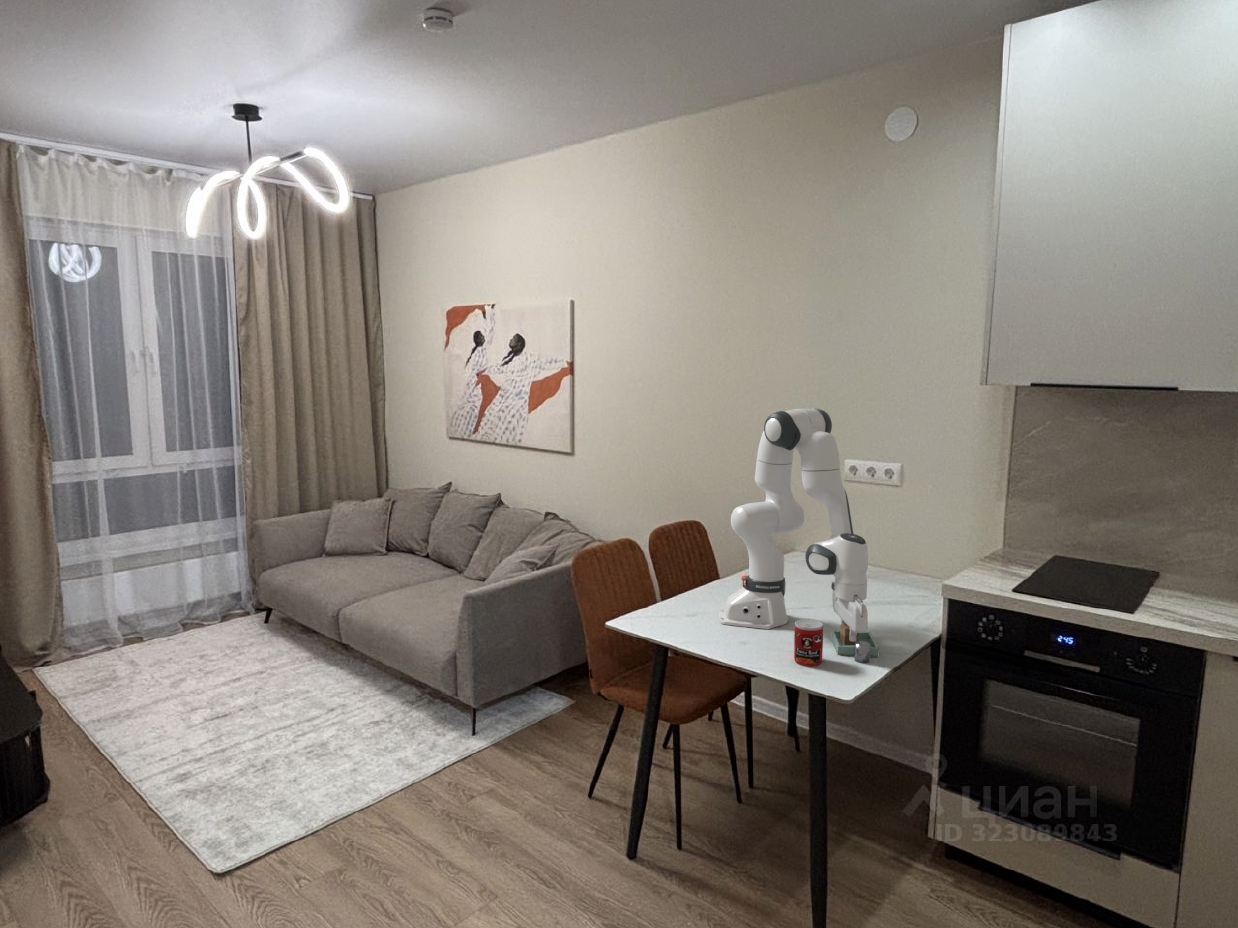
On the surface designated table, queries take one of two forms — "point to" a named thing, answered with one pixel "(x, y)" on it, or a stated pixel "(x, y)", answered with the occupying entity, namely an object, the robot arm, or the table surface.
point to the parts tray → (850, 649)
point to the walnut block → (846, 635)
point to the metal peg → (862, 652)
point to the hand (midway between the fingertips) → (848, 637)
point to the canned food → (808, 642)
